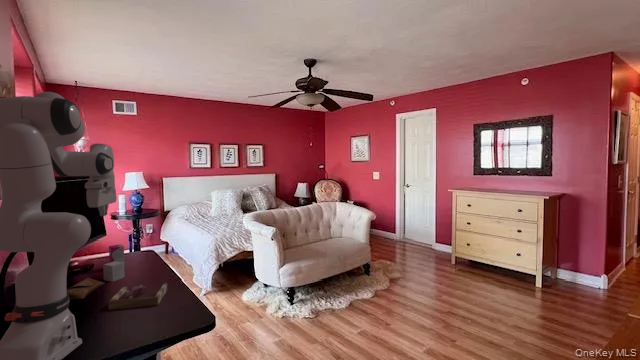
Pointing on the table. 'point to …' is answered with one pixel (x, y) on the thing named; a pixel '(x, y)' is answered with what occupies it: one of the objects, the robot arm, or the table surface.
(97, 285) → the sunglasses case
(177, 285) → the table surface
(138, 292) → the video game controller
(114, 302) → the birch dock
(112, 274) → the product box
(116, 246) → the supplement box
